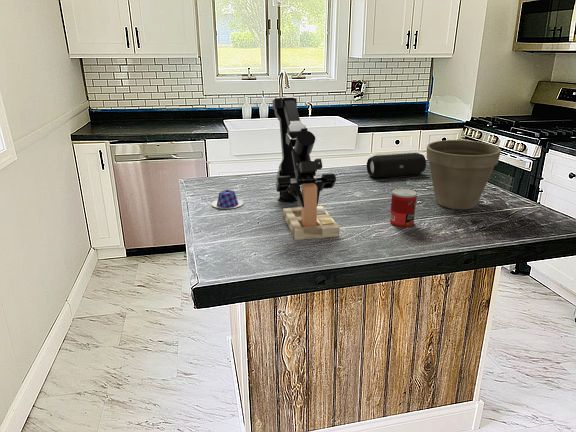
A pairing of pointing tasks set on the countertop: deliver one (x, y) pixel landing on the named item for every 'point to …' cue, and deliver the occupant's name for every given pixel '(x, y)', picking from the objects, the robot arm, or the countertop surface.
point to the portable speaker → (396, 165)
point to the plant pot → (460, 171)
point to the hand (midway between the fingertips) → (310, 206)
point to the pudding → (227, 200)
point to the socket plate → (322, 230)
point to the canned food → (403, 207)
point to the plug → (309, 205)
